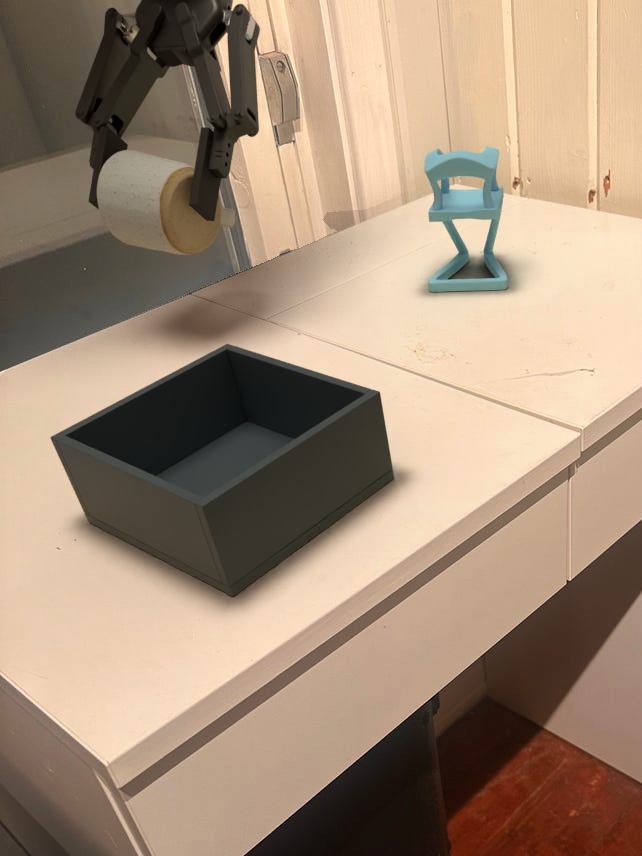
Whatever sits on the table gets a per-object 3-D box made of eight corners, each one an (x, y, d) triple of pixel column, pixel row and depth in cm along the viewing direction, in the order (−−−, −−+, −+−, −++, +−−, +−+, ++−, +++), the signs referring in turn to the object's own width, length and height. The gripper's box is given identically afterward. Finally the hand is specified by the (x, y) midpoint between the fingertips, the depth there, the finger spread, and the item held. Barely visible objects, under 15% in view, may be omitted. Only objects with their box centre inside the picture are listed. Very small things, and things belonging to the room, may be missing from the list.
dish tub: (87, 522, 64) (49, 436, 60) (249, 424, 73) (227, 343, 68) (233, 597, 57) (201, 506, 52) (394, 478, 65) (380, 391, 61)
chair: (514, 257, 94) (508, 127, 86) (507, 289, 88) (499, 154, 80) (440, 259, 95) (427, 132, 87) (428, 292, 89) (413, 158, 81)
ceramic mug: (178, 270, 78) (151, 172, 72) (112, 257, 81) (81, 163, 76) (260, 229, 84) (240, 137, 79) (195, 219, 87) (172, 130, 82)
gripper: (328, -21, 79) (286, 236, 79) (113, -12, 84) (74, 227, 84) (288, -92, 71) (242, 191, 71) (55, -77, 77) (13, 185, 77)
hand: (151, 211), depth 78 cm, fingers closed on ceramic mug, 9 cm apart
